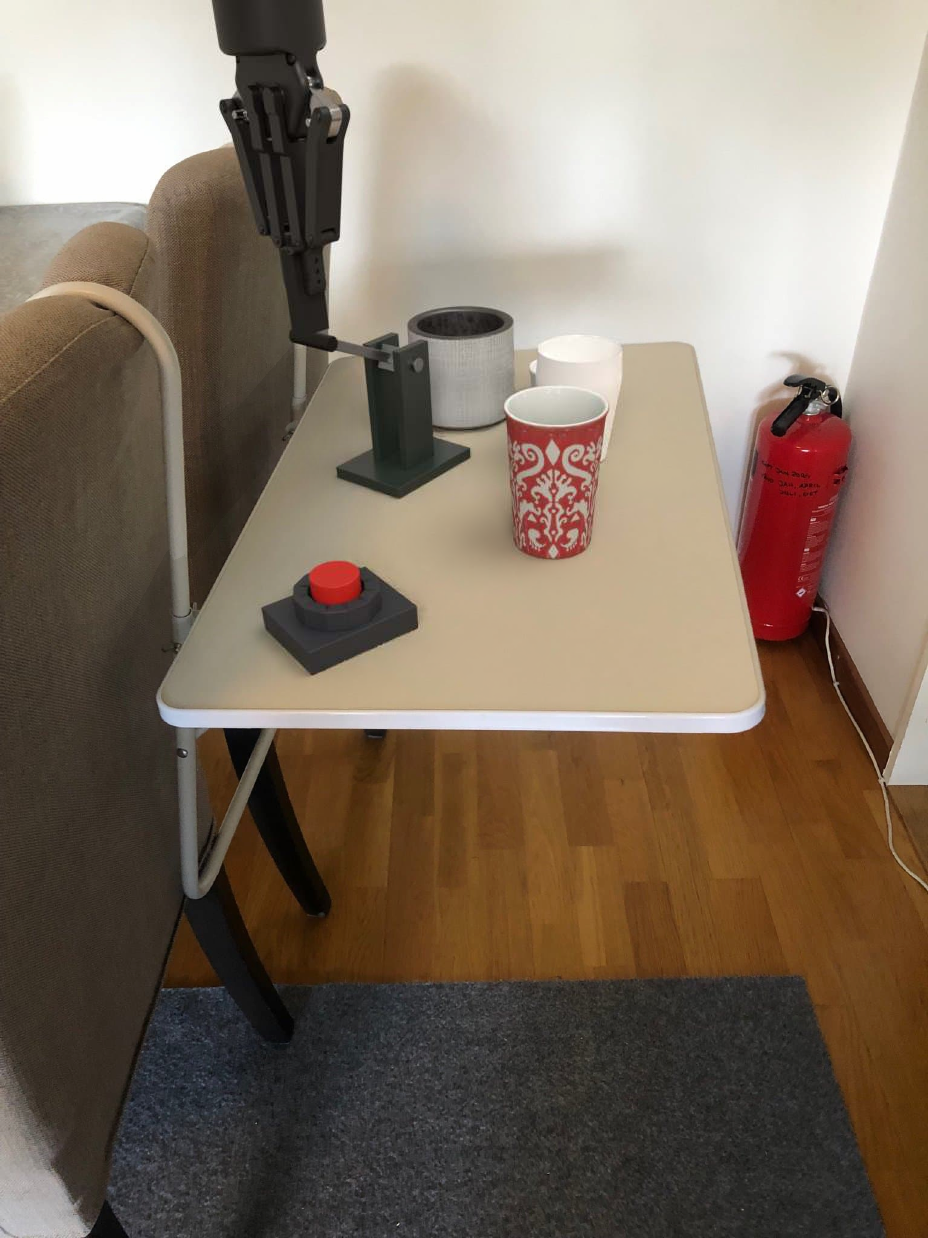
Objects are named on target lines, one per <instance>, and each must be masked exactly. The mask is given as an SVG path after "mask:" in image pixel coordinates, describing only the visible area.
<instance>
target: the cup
mask: <svg viewBox="0 0 928 1238" xmlns="http://www.w3.org/2000/svg"><path fill="white" fill-rule="evenodd" d="M536 352H537V353H536V354H537V355H536V360H537V366H536V386H537V387H541V386H573V387H579V388H584V389H588V390H591V391H594V392H596V393H598V394H600V395H602V396H603V397H604V398H605V399H606V400H607V401H608V403H609V407H610V408H609V412H608V414H607V416H606V420H605V428H604V436H603V445H602V453H601V459H600V463H601V462H603V461H604V460H605V459H606V458H607V457H606V456H607V452H608V447H609V444H610V438H611V434H612V430H613V429H612V428H613V424H614V419H615V415H616V410H617V404H618V401H619V396H620V390H621V386H622V381H623V346H622V345H621V344H620V343H619V342H618V341H616V340H613V339H611V338H607V337H604V336H600V335H599V336H598V335H591V334H589V335H588V334H570V335H567V334H566V335H560V336H556V337H552V338H548V339H547V340H544V341H542V342H541V343H540V344H538V346H537V351H536Z"/></svg>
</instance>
